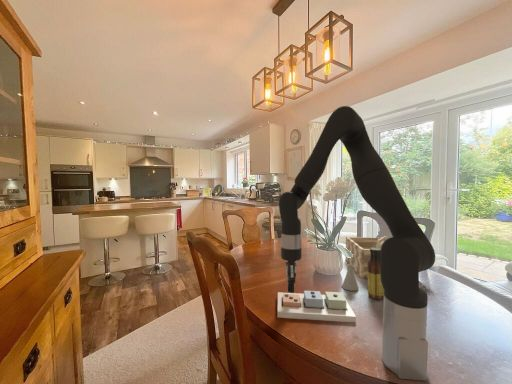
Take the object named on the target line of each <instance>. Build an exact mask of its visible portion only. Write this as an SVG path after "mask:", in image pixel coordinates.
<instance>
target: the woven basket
mask: <svg viewBox="0 0 512 384" xmlns="http://www.w3.org/2000/svg"><path fill="white" fill-rule="evenodd" d="M381 238H382V237H364V236H345V249H346V248H347V249H348V250H349V251H351V253H352V254H353V257H351V258H347V257H346V256H345V261H346V262H347V264H348V265H354V266H355V267H354V272H356V273H357V275H358V276H359V277H360V278H361V279H362V278H365V279H368V273H367V270H368V262H369V260H370V257H371V252H370V248H376V245H377V242H378V239H381ZM382 241H384V240H382ZM382 241H381V242H382ZM381 242H380V243H381Z"/></svg>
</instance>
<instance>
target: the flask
mask: <svg viewBox="0 0 512 384" xmlns="http://www.w3.org/2000/svg"><path fill="white" fill-rule="evenodd" d="M346 267H347V269H346V270H347V271H346V275H345V277H344V279H343V282H342V284H341V287H342V288H343V290H347V291H351V292H355V291H356V292H358V291H359V284H358V282H357V279H356V276H355V270H354V267H355V266H354V265H350V264H346Z"/></svg>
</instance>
